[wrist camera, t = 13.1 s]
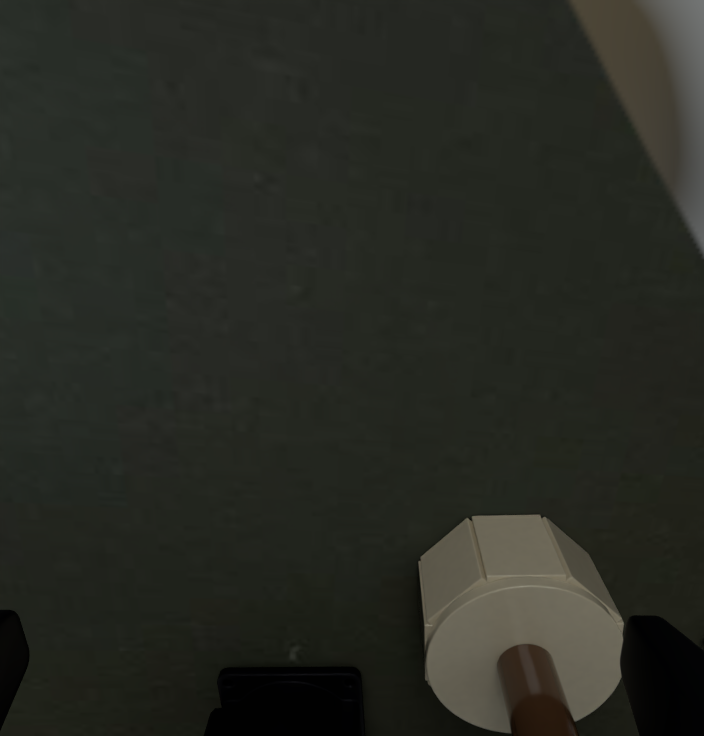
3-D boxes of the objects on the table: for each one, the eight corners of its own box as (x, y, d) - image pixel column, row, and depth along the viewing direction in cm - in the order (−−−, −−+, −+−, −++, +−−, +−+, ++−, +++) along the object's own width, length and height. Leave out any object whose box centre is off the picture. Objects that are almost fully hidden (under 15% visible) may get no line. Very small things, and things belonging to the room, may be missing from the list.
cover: (595, 512, 23) (710, 707, 15) (580, 647, 25) (672, 876, 17) (417, 516, 23) (437, 708, 15) (419, 649, 26) (438, 872, 18)
